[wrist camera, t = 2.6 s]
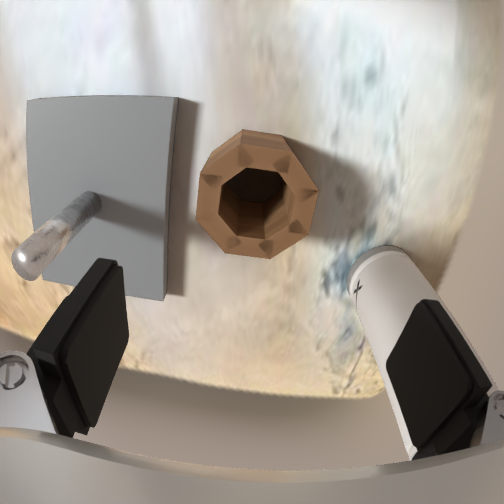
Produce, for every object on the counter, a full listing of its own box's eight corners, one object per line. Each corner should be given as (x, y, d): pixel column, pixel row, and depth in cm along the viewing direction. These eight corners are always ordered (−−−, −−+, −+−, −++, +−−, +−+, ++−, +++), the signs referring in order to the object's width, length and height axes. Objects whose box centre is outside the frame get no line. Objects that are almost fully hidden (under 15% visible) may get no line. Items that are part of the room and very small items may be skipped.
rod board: (37, 98, 19) (26, 100, 18) (178, 97, 20) (173, 98, 19) (50, 271, 27) (43, 279, 25) (166, 291, 28) (163, 301, 26)
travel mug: (328, 278, 27) (399, 516, 10) (389, 229, 25) (530, 442, 7) (366, 317, 29) (435, 515, 12) (421, 274, 27) (531, 460, 10)
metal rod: (78, 190, 21) (8, 246, 14) (101, 192, 22) (35, 251, 14) (79, 214, 22) (15, 277, 14) (101, 216, 23) (42, 283, 15)
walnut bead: (215, 125, 21) (203, 138, 16) (307, 139, 22) (326, 157, 16) (205, 211, 24) (193, 249, 19) (290, 222, 25) (301, 263, 19)
